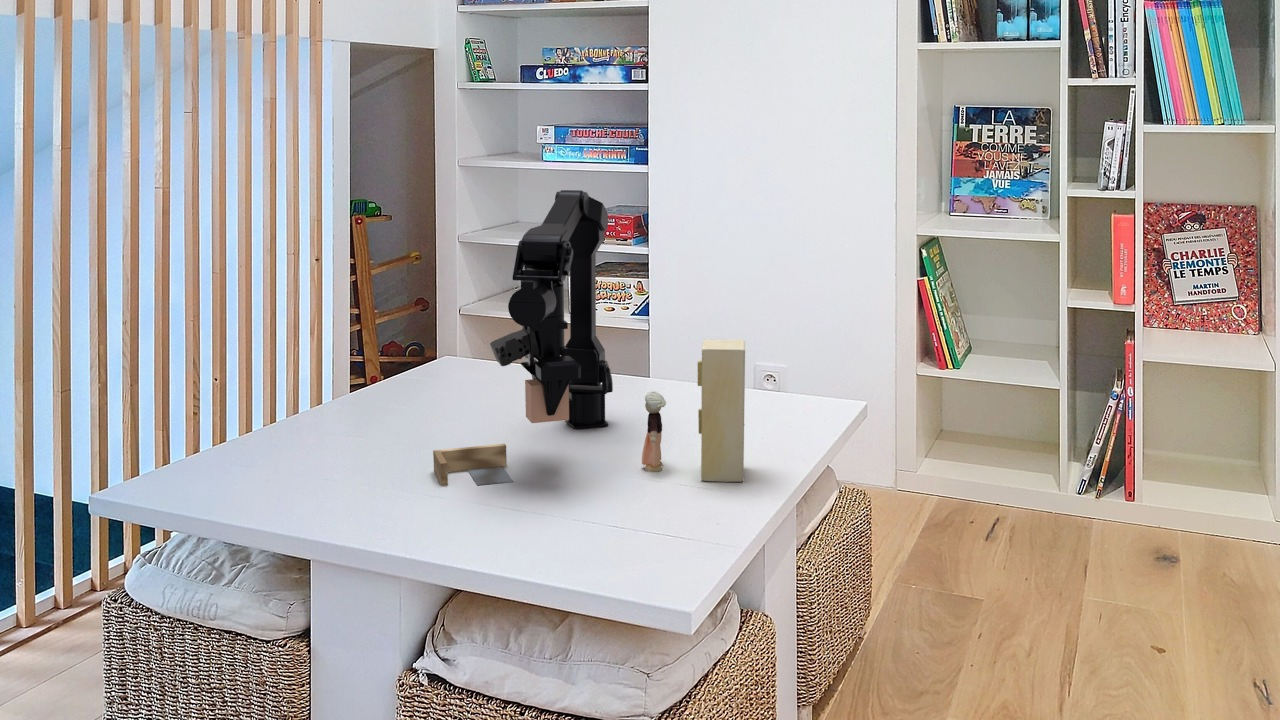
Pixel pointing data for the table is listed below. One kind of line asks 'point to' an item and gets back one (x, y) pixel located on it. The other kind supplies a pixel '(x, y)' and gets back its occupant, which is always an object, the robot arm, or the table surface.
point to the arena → (473, 463)
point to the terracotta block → (543, 404)
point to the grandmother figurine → (653, 432)
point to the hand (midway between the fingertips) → (547, 411)
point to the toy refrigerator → (722, 409)
